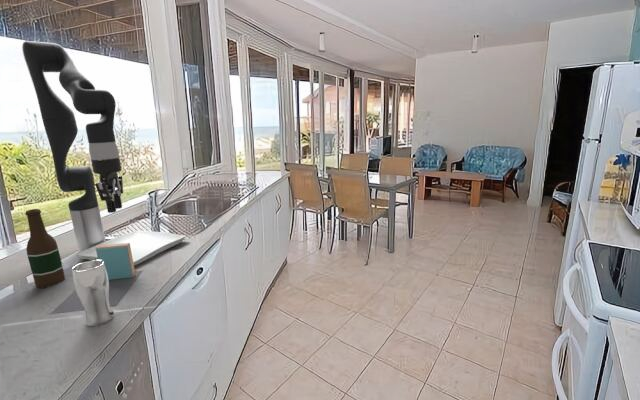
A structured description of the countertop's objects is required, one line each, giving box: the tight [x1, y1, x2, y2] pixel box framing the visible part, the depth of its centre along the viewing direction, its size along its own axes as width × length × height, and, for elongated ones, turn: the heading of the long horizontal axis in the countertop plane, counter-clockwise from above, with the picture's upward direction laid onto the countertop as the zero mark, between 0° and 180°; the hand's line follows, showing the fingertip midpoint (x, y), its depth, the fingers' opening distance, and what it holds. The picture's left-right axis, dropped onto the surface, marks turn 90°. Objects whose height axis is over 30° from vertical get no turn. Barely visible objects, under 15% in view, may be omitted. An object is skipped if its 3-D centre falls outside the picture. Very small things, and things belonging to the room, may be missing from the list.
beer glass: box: [71, 260, 115, 327], centre depth 82 cm, size 7×7×15 cm
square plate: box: [75, 229, 187, 267], centre depth 127 cm, size 27×27×4 cm
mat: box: [49, 269, 144, 315], centre depth 98 cm, size 22×16×1 cm
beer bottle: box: [25, 208, 66, 289], centre depth 101 cm, size 8×8×24 cm
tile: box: [96, 243, 136, 280], centre depth 103 cm, size 2×9×11 cm, turn 101°
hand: (115, 210), depth 106 cm, fingers open, 4 cm apart
